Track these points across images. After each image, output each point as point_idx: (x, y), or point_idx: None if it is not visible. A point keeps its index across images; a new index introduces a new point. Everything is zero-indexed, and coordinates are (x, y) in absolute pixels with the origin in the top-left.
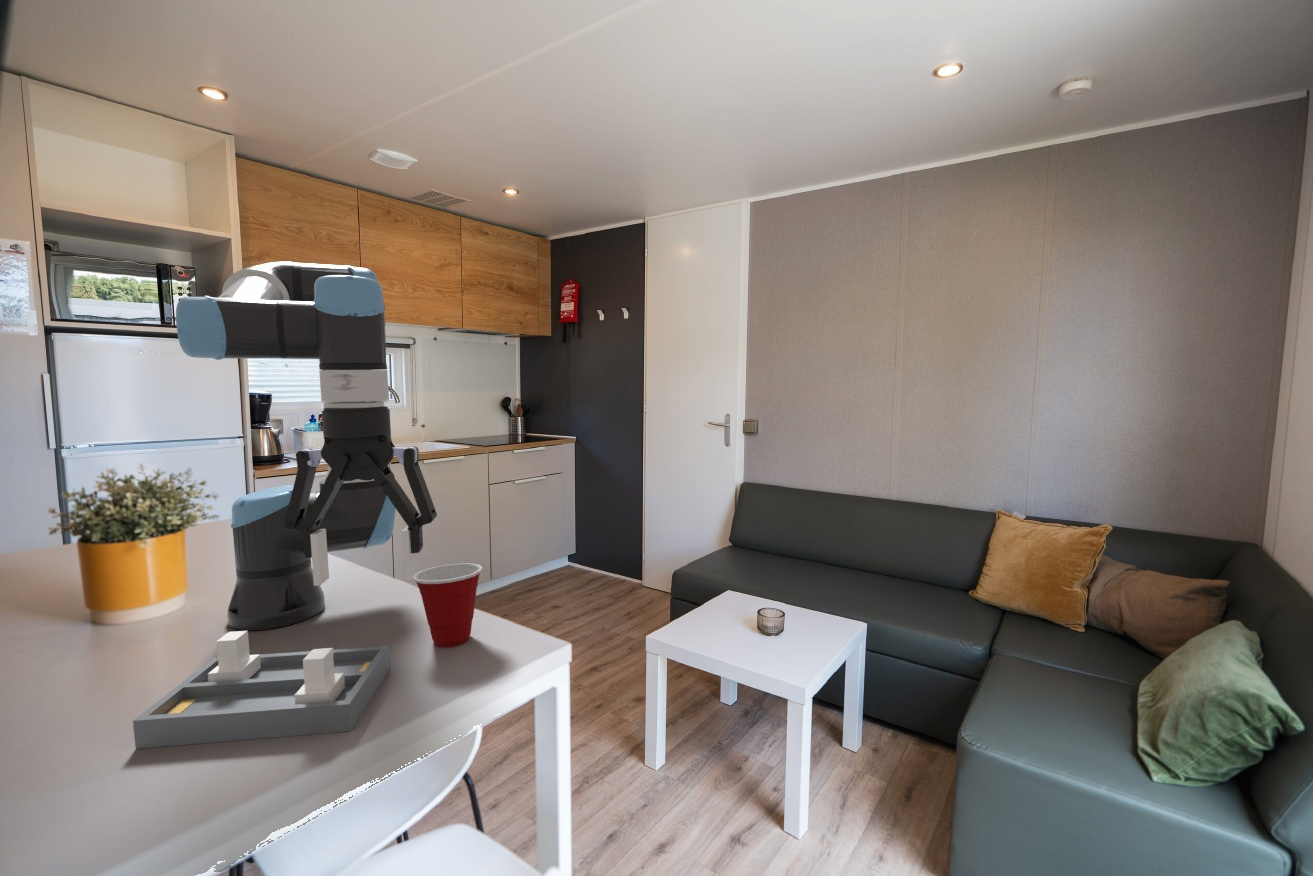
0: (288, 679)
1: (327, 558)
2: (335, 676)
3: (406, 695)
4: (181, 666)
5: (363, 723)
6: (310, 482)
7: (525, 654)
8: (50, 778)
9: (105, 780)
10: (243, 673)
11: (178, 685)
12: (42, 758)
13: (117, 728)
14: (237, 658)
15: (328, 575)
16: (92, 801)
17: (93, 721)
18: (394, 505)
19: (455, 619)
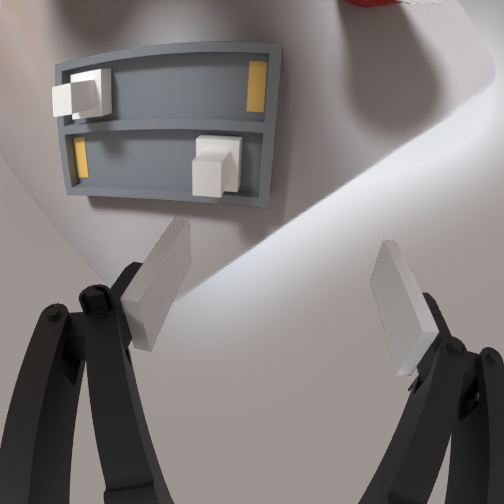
0: (165, 127)
1: (173, 246)
2: (230, 149)
3: (320, 130)
4: (32, 37)
5: (279, 182)
6: (49, 461)
7: (462, 75)
8: (58, 212)
9: (93, 222)
10: (105, 109)
11: (58, 129)
12: (35, 186)
13: (48, 149)
14: (87, 109)
15: (187, 224)
16: (104, 245)
17: (27, 137)
18: (391, 443)
19: (386, 4)
